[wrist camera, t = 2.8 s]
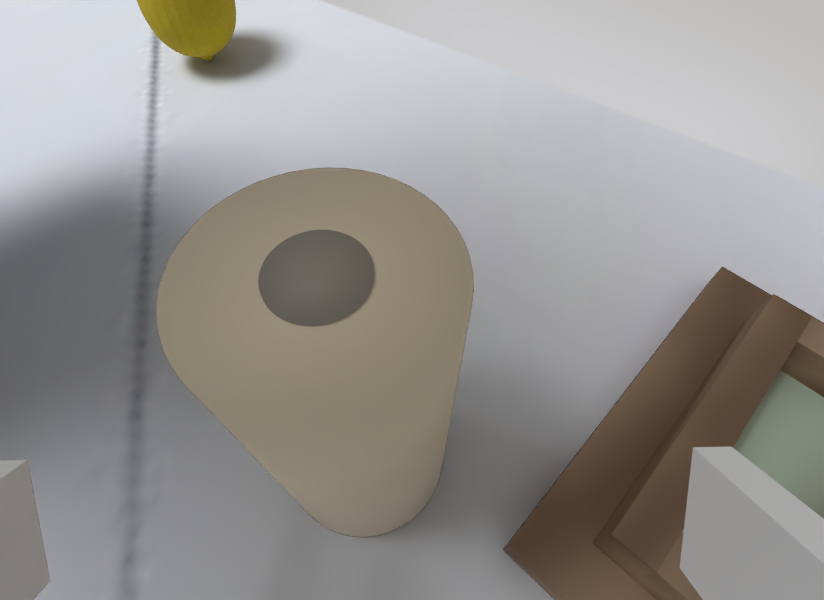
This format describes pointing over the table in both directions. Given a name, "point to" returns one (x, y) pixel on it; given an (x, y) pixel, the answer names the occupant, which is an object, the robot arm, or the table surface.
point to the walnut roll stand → (682, 446)
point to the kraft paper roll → (326, 337)
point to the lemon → (191, 24)
